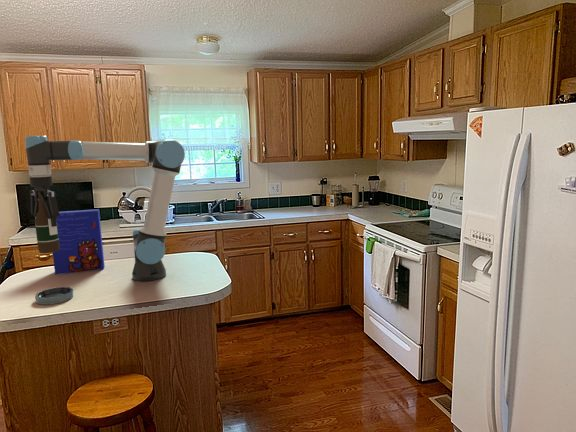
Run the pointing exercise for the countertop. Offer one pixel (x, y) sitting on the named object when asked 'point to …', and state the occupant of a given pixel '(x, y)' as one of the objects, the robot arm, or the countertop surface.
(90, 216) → the cereal box
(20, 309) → the countertop surface
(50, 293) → the dark grey shallow dish
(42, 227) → the beer bottle
